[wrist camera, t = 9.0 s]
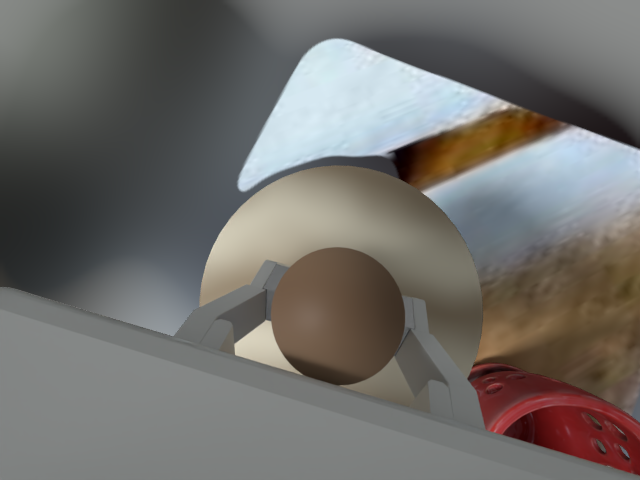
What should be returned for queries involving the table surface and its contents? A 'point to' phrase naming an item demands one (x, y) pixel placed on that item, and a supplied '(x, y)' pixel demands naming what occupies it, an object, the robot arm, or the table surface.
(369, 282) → the birch lid
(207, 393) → the robot arm
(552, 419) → the plant pot
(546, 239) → the table surface
